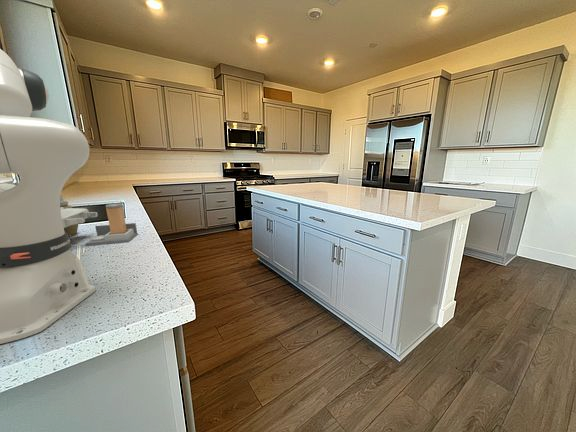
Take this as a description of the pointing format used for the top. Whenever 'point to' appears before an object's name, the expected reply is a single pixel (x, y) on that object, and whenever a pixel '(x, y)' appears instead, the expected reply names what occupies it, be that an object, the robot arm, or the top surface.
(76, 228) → the squeeze bottle
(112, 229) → the grey-capped orange post
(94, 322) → the top surface
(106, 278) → the top surface
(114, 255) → the top surface
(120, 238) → the housing
